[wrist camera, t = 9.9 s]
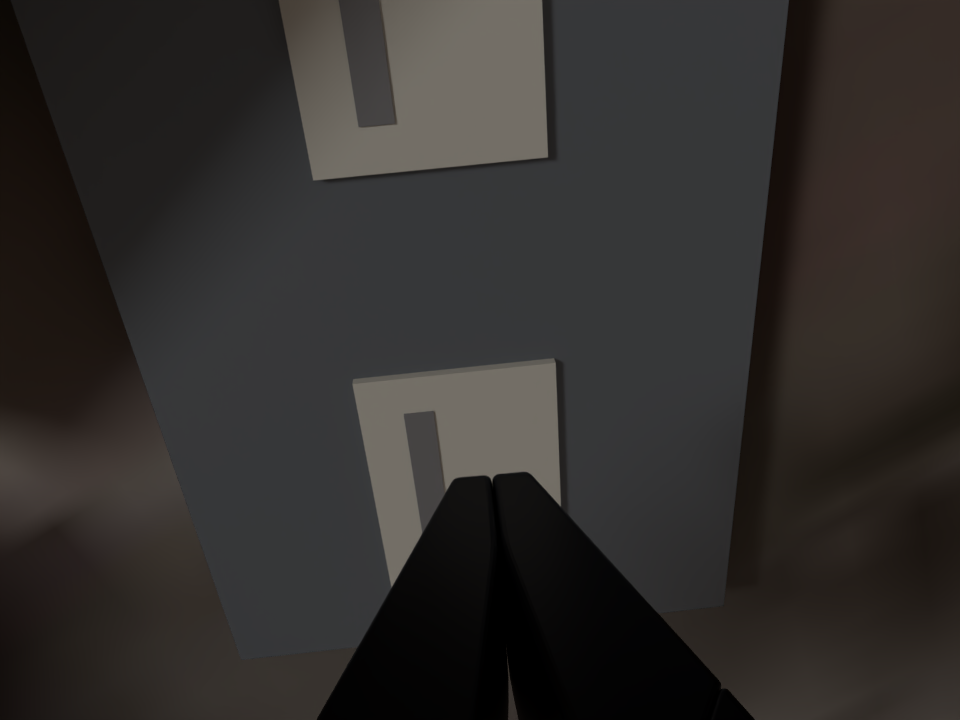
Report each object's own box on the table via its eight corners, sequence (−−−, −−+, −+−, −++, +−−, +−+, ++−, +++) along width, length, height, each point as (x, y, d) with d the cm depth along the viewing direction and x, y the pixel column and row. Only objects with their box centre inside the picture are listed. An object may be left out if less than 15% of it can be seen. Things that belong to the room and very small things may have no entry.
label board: (707, 571, 19) (727, 613, 18) (251, 621, 19) (239, 668, 18) (798, -438, 10) (851, -497, 9) (-72, -364, 10) (-146, -415, 9)
